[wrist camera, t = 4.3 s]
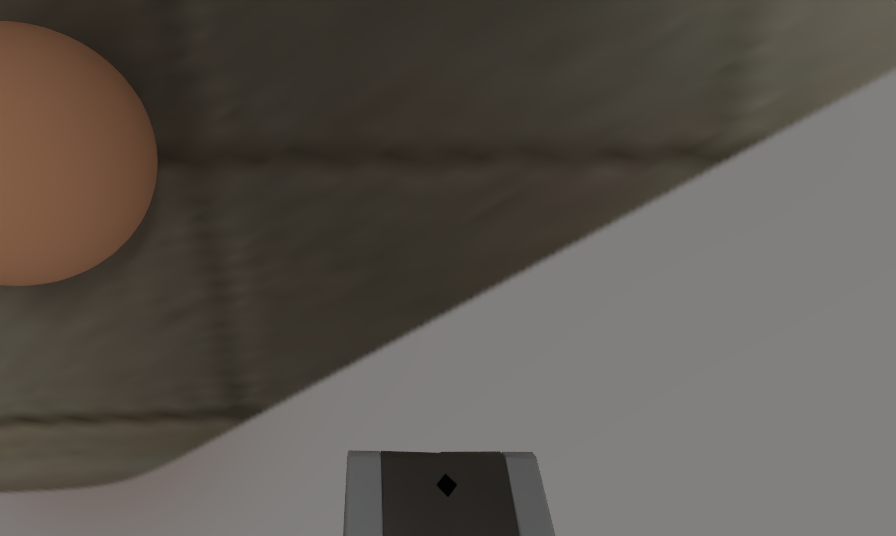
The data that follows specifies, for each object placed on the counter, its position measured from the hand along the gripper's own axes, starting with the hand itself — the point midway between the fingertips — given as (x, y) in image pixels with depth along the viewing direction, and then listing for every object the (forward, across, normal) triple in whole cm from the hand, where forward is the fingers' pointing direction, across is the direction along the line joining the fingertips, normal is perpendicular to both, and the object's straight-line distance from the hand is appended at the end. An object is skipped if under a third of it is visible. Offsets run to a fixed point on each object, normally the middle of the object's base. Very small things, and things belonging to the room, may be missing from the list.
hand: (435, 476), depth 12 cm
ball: (+9, +9, -1) cm, 13 cm away
